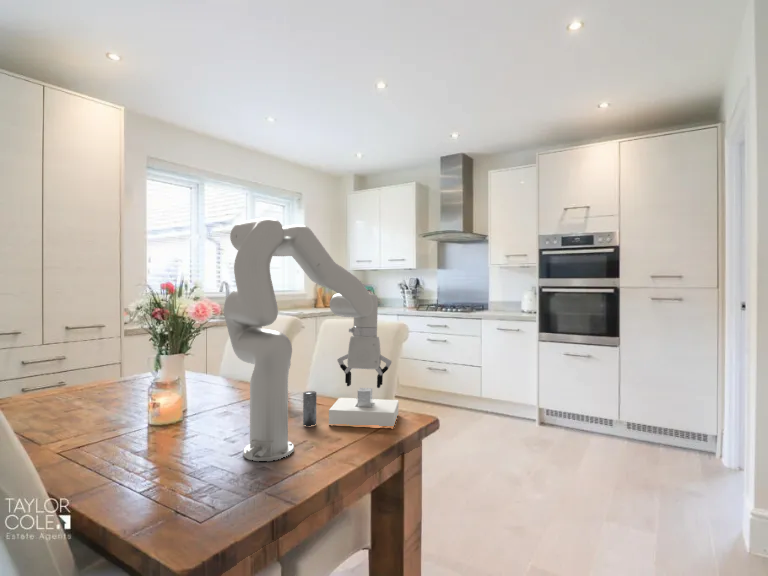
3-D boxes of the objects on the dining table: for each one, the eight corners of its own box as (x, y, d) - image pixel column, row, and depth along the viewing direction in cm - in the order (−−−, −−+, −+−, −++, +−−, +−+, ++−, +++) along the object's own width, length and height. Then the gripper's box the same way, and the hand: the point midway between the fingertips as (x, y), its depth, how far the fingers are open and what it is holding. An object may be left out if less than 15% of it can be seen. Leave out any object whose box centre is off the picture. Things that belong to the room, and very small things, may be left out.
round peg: (314, 427, 131) (314, 394, 131) (301, 427, 131) (301, 394, 131) (317, 423, 135) (318, 391, 135) (305, 422, 135) (305, 390, 135)
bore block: (393, 429, 130) (393, 412, 130) (328, 426, 132) (328, 409, 132) (398, 415, 143) (398, 400, 143) (339, 412, 146) (339, 397, 146)
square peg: (370, 423, 135) (370, 391, 135) (357, 422, 136) (357, 390, 135) (372, 419, 139) (372, 388, 139) (359, 418, 140) (360, 387, 139)
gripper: (335, 332, 135) (334, 387, 135) (390, 334, 132) (389, 390, 132) (341, 330, 142) (339, 382, 142) (393, 332, 140) (392, 385, 140)
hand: (363, 386), depth 137 cm, fingers open, 9 cm apart
